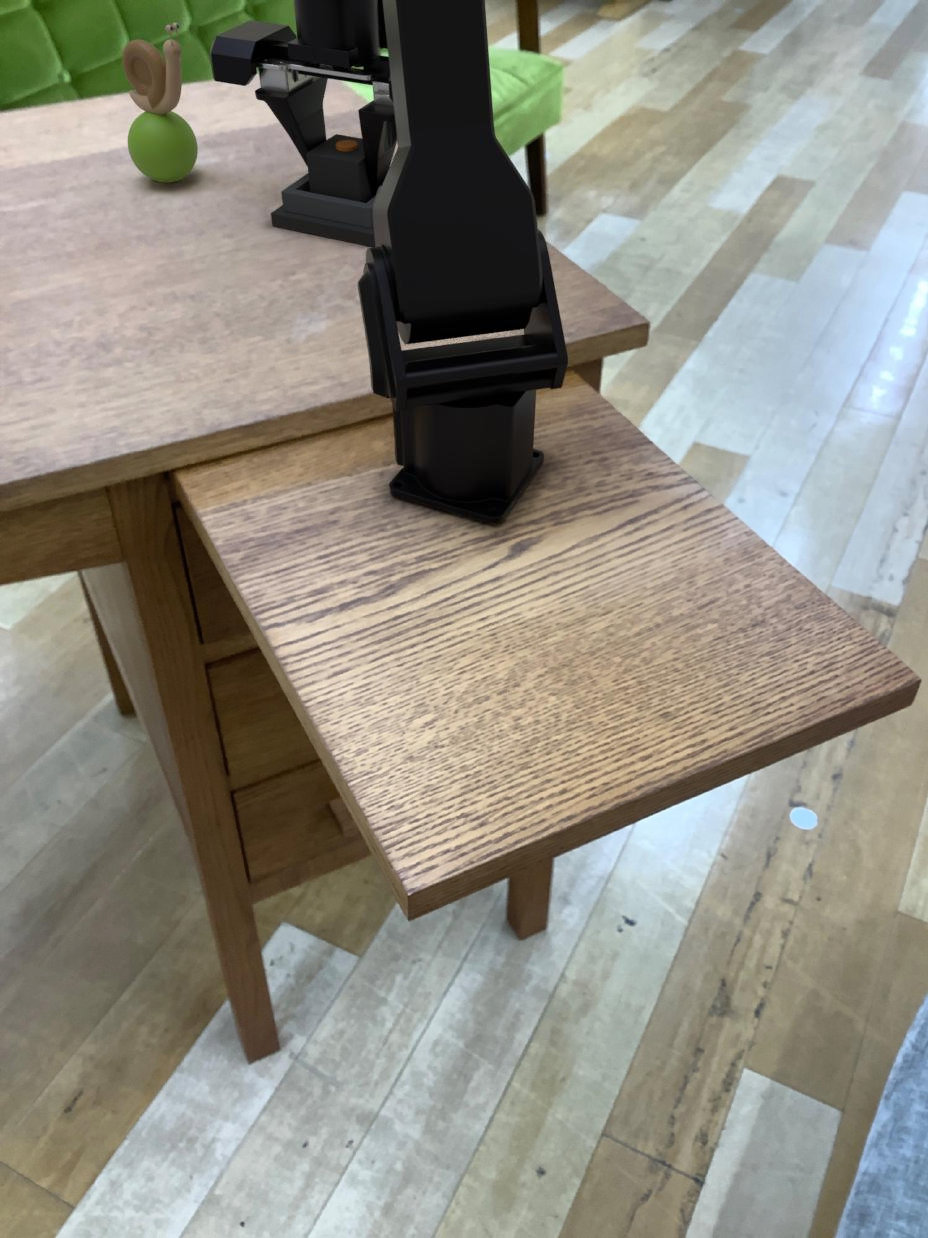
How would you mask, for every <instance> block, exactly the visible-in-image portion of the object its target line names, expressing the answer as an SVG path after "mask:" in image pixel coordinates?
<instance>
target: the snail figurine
mask: <svg viewBox="0 0 928 1238" xmlns="http://www.w3.org/2000/svg"><path fill="white" fill-rule="evenodd" d="M179 30H180V24H179V23H178V22H176V21H175V22H174V21H173V23H172V24H167V25H165V32H167V33H168V34H169V36H170V39H167V40H165V41H164V43H163V45H162V52H163V55H164V57H165V58H164V57H163V55H162V53H161V52H160V51H159V50H158V49H157V48H156V47H155V46H154V45H153V44H152V43H150V42H148V41H147V40H145V39H133V40H130V41H129V42H127V43H126V45H125V47H124V49H123V51H122V57H121V58H122V60H121V62H122V69H123V72H124V75H125V77H126V79H127V81H128V83H129V84H130V86H131V87H132V89H131V90H129V92H128V93H129V96H130V99H132V101H133V102H134V104H135V105H136V106H137V107H138V108H139V109H140V110H142V111H144V112H142V113H140V114H139V115H138V116H137V117H136V118H135V119H134V120H133V122H132V123H131V124H130V127H129V130H128V134H127V149H128V154H129V156H130V159H131V161H132V162H133V164H134V166H135V167H136V168H137V169H138V171H139V172H140V173H141V174H143V175H144V176H145V177H147V178H148V179H150V180H152V181H155V182H158V183H165V184H167V183H168V184H169V183H175V182H178V181H181V180H182V179H184V178H186V177H187V176H188V175H189V174H190V173H191V172H192V170H193V169H194V167H195V165H196V163H197V159H198V153H199V152H198V151H199V147H198V141H197V140H198V139H197V137H196V135H195V132H194V130H193V128H192V127H191V125H190V123H188V121H187V120H186V119H184V118H183V117H182V116H181V115H180V114H178V113H177V112H175V111H173V110H174V109H176V107H177V106H178V104H179V103H180V100H181V95H182V87H183V71H182V63H181V62H182V61H181V59H182V53H183V51H182V46H181V44H180V42H179V41H180V40H179V33H178V31H179ZM174 31H175V33H176V38H177V39H176V40H175V39H173V37H172V36H173V35H172V33H173V32H174Z"/></svg>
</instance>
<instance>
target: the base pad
mask: <svg viewBox="0 0 928 1238" xmlns="http://www.w3.org/2000/svg"><path fill="white" fill-rule="evenodd" d="M280 194H281V202H282V205H280V206H279V207H277V208H276V209H274V210H273V211H271V212H270V219H271V225H272V227H277V228H281V229H286V230H291V231H296V232H300V233H306V234H310V235H315V236H319V237H325V238H329V239H334V240H338V241H344V242H349V243H354V244H359V245H362V246H368V247H371V248H372V247H376V246H375V236H374V225H373V203H374V200H375V197H376V196H375V197H373V198H372V199H371V200H370V201H368V202H367V203H363V202H358V201H352V200H347V199H342V198H337V197H332V196H327V195H321V194H316V193H311V192H310V185H309V175H308V172H307V173H306V174H305V175H303V176H302V177H300V178H298V179H297V180H295V181H294V182H292V183H291V184H289V185H288V186H287V187H286V188H284V189H282V190H281V191H280Z"/></svg>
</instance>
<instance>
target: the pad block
mask: <svg viewBox="0 0 928 1238" xmlns="http://www.w3.org/2000/svg"><path fill="white" fill-rule="evenodd" d="M306 156H307V165H308V167H307V173H308V175H309V185H310V192H311V193H316V194H321V195H327V196H332V197H337V198H342V199H347V200H352V201H358V202H363V203H367V202H368V201H370V200H371V199H372V198H373V197H375V196H374V195H372V192H371V189H370V185H369V181H368V177H367V170H366V163H365V156H364V148H363V141H362V137H357V136H356V137H355V136H350V135H344V134H338V133H335V134H333V135H332V136H331V137H329V138H327V139H326V141H325V142H323V143H322V144H320V145H318V146H317V147H315V148H314V149H312V150H311V151H309V152H308V153H306ZM307 165H306V166H307Z"/></svg>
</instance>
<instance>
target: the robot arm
mask: <svg viewBox="0 0 928 1238" xmlns="http://www.w3.org/2000/svg"><path fill="white" fill-rule="evenodd" d="M293 7H294V8H293V9H294V18H295V27H296V28H295V30H296V32H294V31H293V29H292V27H291V26H290V25H288V24H280V23H272V22H267V21H266V22H265V21H260V20H259V21H258V20H252V19H250V20H247V21H245V22H243V23H240V24H239V25H237V26H234V27H232V28H230V29H228V30H225V31H223V32H221V33H219V34H216V35H215V37H214V39H213V41H212V43H211V47H210V51H209V53H208V55H209V60H210V67H211V73H212V78H213V81H214V82H216V83H217V82H218V83H224V84H230V85H236V86H243V87H246V86H247V85H249V84H251V82H252V81H253V80H254V78H255V77H256V75H258V76H259V77H258V78H259V85H260V87H258V88H257V89H255V90H254V95H255V99H256V100H258V101H262V102H264V103H265V104H266V105H267V106H268V108H269V109H270V110H271V112H272V114H273V115H274V117H275V118H276V120H277V121H278V122H279V124H280V125H281V127H282V128H283V130H284V131H285V132H286V134H287V136H288V137H289V139H290V140H291V142H292V143H293V145H294V147H295V148H296V150H297V152H298V154H299V155H300V157H301V158H302V160H303V162H304V164H305V166H306V168H308V165H307V156H306V153H308V152H309V151H311V150H312V149H314V148H315V147H317V146H318V145H320V144H322V143H323V142H325V141H326V140H327V131H326V130H327V129H326V122H325V111H324V99H325V94H326V91H327V90H326V89H327V85H328V79H329V80H335V81H342V82H348V83H356V84H360V85H367V86H372V92H373V93H372V94H373V95H372V97H373V100H371V101H370V102H368V103H367V104H365V105H364V106H361V107H360V108H359V109H358V110H357V111H358V113H357V114H358V119H359V127H360V133H361V135H360V136H361V138H362V141H363V148H364V156H365V163H366V170H367V177H368V181H369V185H370V189H371V192H372V195H374V196H376V197H375V200H374V203H373V225H374V236H375V246H376V247H372V246H371V247H367V249H366V253H365V263H364V267H363V270H362V273H363V274H362V275H361V277H360V278H359V280H358V281H357V292H358V297H359V304H360V310H361V315H362V316H361V317H362V323H363V329H364V335H365V342H366V348H367V354H368V362H369V363H368V364H369V376H370V388H371V390H372V393H373V394H375V395H377V396H381V397H383V398H385V399H386V400H387V399H390V401H391V404H392V405H391V406H392V423H393V441H394V458H395V462H396V464H397V466H400V467H402V468H400V470H399V471H398V473H396V475H394V477H393V478H392V479H391V481H390V482H389V484H388V491H389V494H390V495H391V496H393V497H396V498H400V499H402V500H403V499H404V500H407V501H411V502H413V503H417V504H421V505H425V506H428V507H431V508H435V509H438V510H441V511H446V512H448V513H452V514H456V515H459V516H463V517H466V518H468V519H473V520H477V521H480V522H484V523H487V524H490V525H498V524H499V525H500V524H501V523H502V522H503V521H504V520H505V519H506V518H507V516H508V514H509V513H510V512H511V510H512V508H513V507H514V506H515V504H516V503H517V502H518V500H519V498H520V497H521V496H522V494H523V493H524V491H525V490H526V488H527V487H528V486H529V484H530V482H531V481H532V480H533V478H534V477H535V475H536V474H537V472H538V471H539V469H541V467H542V466H543V464H544V461H545V454H544V452H543V451H542V450H539V449H536V448H534V442H535V440H534V439H535V425H536V424H535V423H536V405H537V404H536V403H537V390H544V389H545V390H546V389H550V390H557V389H562V388H563V384H564V382H565V378H566V377H565V376H566V373H567V370H568V366H569V356H568V350H567V345H566V339H565V334H564V328H563V323H562V318H561V312H560V306H559V301H558V296H557V290H556V284H555V279H554V274H553V270H552V264H551V258H550V252H549V249H548V244H547V241H546V238H545V236H544V233H543V232H542V230H540V229H539V228H538V227H539V226H538V220H537V219H538V218H537V210H536V200H535V195H534V194H533V192H532V190H531V188H530V187H529V185H528V184H527V182H526V181H525V179H524V178H523V175H521V174H520V172H519V170H518V169H517V167H516V166H515V164H514V163H513V161H512V160H511V158H510V157H509V155H508V154H507V152H506V150H505V149H504V146H502V144H501V143H500V141H499V139H498V138H497V136H496V132H495V131H496V130H495V121H494V108H493V95H492V94H493V92H492V80H491V79H492V78H491V65H490V64H491V63H490V51H489V37H488V25H487V24H488V23H487V12H486V11H487V9H486V0H293ZM384 49H386V50H387V54H388V55H387V56H386V55H382V50H384ZM396 147H397V148H396ZM395 150H396V151H395ZM521 330H523V334H517V335H509V336H502V337H493V338H492V337H491V338H487V339H486V338H485V339H478V340H471V341H462V342H456V343H448V344H440V345H433V346H423V347H418V348H409V349H402V345H401V342H402V343H403V344H404V345H405V346H406V345H413V344H421V343H428V342H437V341H445V340H452V339H459V338H466V337H473V336H480V335H481V336H482V335H488V334H489V335H490V334H498V333H505V332H512V331H521Z"/></svg>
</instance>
